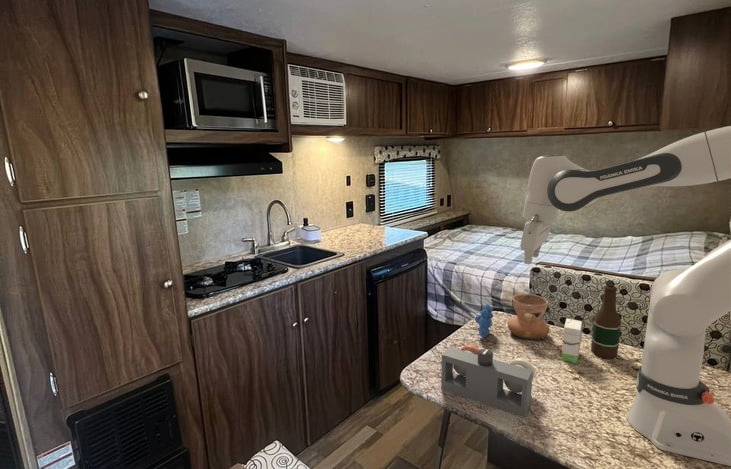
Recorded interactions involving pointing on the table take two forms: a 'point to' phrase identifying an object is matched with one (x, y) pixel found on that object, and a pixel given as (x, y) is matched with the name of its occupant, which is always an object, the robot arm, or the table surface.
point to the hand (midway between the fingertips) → (531, 260)
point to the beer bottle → (606, 326)
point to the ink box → (571, 340)
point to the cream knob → (521, 363)
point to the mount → (487, 381)
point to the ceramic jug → (529, 317)
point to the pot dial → (485, 357)
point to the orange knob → (469, 349)
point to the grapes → (484, 320)
